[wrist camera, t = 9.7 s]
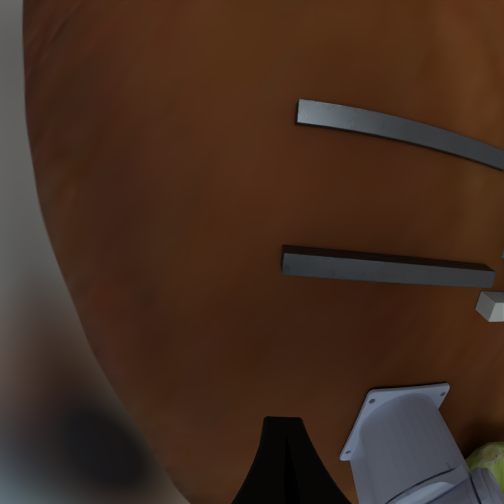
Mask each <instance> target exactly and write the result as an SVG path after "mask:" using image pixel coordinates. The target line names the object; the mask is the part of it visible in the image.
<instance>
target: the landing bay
mask: <svg viewBox="0 0 504 504" xmlns="http://www.w3.org/2000/svg"><path fill="white" fill-rule="evenodd" d="M475 310H476V311H478V312H479V313H480V314H481V315H482V316H483V317H484V318H485V319H486V320H487V321H488V322H494V321H504V292H485V291H481V293H480V296H479V299H478V302H477V305H476V308H475Z"/></svg>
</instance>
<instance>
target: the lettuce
mask: <svg viewBox="0 0 504 504" xmlns="http://www.w3.org/2000/svg"><path fill="white" fill-rule="evenodd" d="M465 462H466V464H467V466H468V468H469V469H470V470H471V471H472V470H474V469H475V468H476V467H481V468H488V469H489V470H490V471H491V472H492V474H493V475H494V477H495V478H496V480H497V482H498V484H499V485H500V487H501V489H502V491H503V493H504V442H487V443H486V444H484V445H482V446H481V447H479V448H477V449H475V450H474V451H473V452H472V453H471V455H470V456H468V457H467V458H466V459H465Z"/></svg>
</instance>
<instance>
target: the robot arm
mask: <svg viewBox="0 0 504 504" xmlns="http://www.w3.org/2000/svg"><path fill="white" fill-rule="evenodd" d="M449 388H450V386H449V384H448V383H443V384H434V385H425V386H415V387H403V388H388V389H373V390H371V391H369V392H368V394H367V396H366V399H365V401H364V403H363V406H362V408H361V411H360V413H359V415H358V418H357V420H356V422H355V424H354V427H353V429H352V431H351V433H350V435H349V437H348V440H347V442H346V444H345V446H344V448H343V450H342V452H341V454H340V460H350V463H351V468H352V473H353V477H354V482H355V487H356V492H357V496H358V501H359V504H504V493H503V491H502V489H501V487H500V485H499V484H498V482H497V480H496V478H495V477H494V475H493V474H492V472H491V471H490V470H489V469H488V468H481V467H476V468H475V469H474V470H472V471H471V470H470V469H469V468H468V466H467V464H466V462H465V460H464V458H463V456H462V454H461V452H460V450H459V448H458V446H457V444H456V442H455V440H454V438H453V436H452V434H451V432H450V430H449V429H448V427H447V425H446V423H445V421H444V419H443V417H442V416H441V414H440V412H439V410H438V409H439V407H440V405H441V403H442V402H443V400H444V398H445V396H446V394H447V392H448V391H449ZM371 399H372V400H371ZM231 504H351V502H350V501H349V500H348V499H347V498H346V497H345V495H344V494H343V493H342V492H341V490H340V489H339V488H338V486H337V485H336V483H335V482H334V481H333V479H332V478H331V476H330V475H329V473H328V471H327V470H326V468H325V467H324V465H323V463H322V461H321V460H320V458H319V456H318V454H317V452H316V450H315V448H314V446H313V444H312V442H311V440H310V438H309V436H308V434H307V431H306V429H305V426H304V423H303V421H302V419H301V418H300V417H271V416H267V417H265V418H264V421H263V427H262V433H261V438H260V444H259V448H258V451H257V453H256V456H255V459H254V461H253V464H252V466H251V468H250V470H249V473H248V475H247V477H246V479H245V481H244V483H243V485H242V487H241V488H240V490H239V492H238V494H237V495H236V497H235V499H234V500H233V502H232V503H231Z"/></svg>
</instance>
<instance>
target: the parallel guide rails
mask: <svg viewBox="0 0 504 504" xmlns="http://www.w3.org/2000/svg"><path fill="white" fill-rule="evenodd" d="M295 125H302V126H310V127H317V128H325V129H331V130H338V131H344V132H350V133H356V134H362V135H367V136H372V137H378V138H383V139H387V140H392V141H397V142H401V143H406V144H410V145H414V146H418V147H422V148H426V149H430V150H434V151H438V152H442V153H445V154H449V155H452V156H456V157H459V158H463V159H466V160H469V161H473V162H476V163H479V164H482V165H485V166H488V167H491V168H494V169H497V170H500V171H503V172H504V151H503V150H500V149H498V148H495V147H493V146H490V145H488V144H485V143H482V142H479V141H477V140H474V139H471V138H468V137H465V136H462V135H459V134H456V133H453V132H450V131H447V130H444V129H440V128H437V127H434V126H430V125H427V124H423V123H419V122H416V121H412V120H408V119H404V118H400V117H396V116H392V115H387V114H383V113H378V112H374V111H369V110H364V109H359V108H353V107H348V106H342V105H336V104H330V103H323V102H317V101H309V100H302V99H299V100H298V102H297V103H296V113H295ZM280 265H281V272H282V274H283V275H296V276H308V277H321V278H335V279H348V280H362V281H377V282H392V283H408V284H424V285H442V286H460V287H480V288H491V287H492V284H493V281H494V278H495V274H496V271H494V270H493V269H491V268H489V267H488V266H486V265H485V264H476V263H466V262H457V261H447V260H437V259H427V258H417V257H407V256H396V255H386V254H376V253H365V252H354V251H344V250H333V249H322V248H311V247H300V246H288V245H283V246H282V255H281V264H280Z"/></svg>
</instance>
